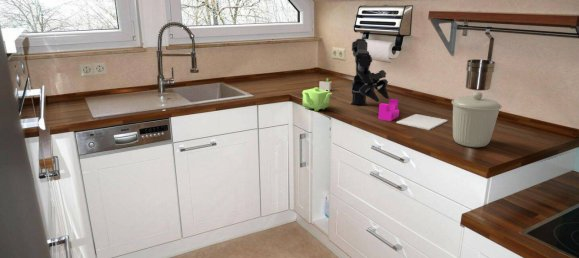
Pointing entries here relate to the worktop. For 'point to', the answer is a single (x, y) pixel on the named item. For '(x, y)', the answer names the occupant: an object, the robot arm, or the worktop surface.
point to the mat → (422, 121)
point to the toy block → (389, 110)
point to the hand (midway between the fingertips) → (383, 99)
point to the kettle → (316, 99)
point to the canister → (474, 120)
